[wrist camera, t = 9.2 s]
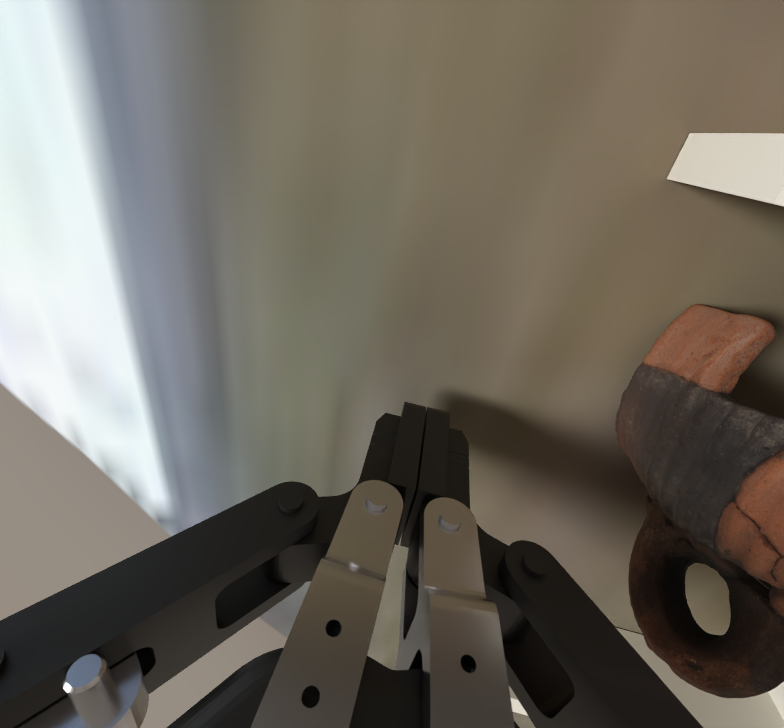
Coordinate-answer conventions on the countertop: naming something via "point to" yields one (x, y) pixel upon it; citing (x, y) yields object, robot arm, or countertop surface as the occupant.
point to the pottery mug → (708, 501)
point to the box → (775, 186)
